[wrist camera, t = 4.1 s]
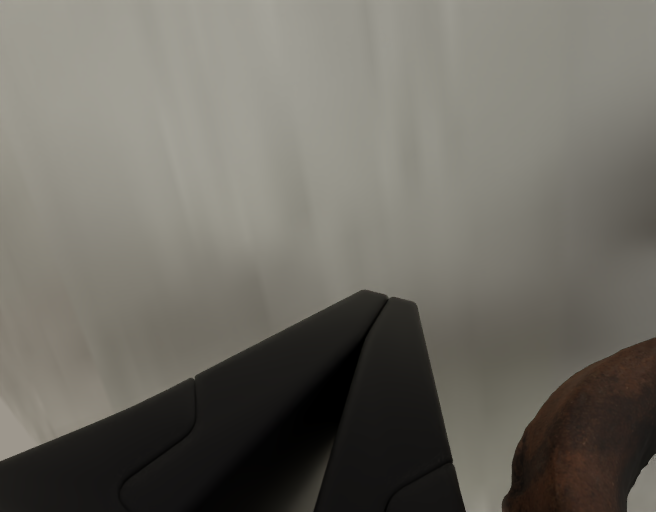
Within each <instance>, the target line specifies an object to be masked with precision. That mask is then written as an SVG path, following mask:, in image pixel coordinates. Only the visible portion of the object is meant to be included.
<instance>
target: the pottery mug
mask: <svg viewBox="0 0 656 512" xmlns="http://www.w3.org/2000/svg"><path fill="white" fill-rule="evenodd" d="M654 454H656V338H653V339H650V340H647V341H644V342H641V343H638V344H635V345H633V346H630V347H628V348H625V349H622V350H620V351H619V352H617V353H615V354H613V355H612V356H609V357H607V358H605V359H602V360H600V361H598V362H595V363H593V364H591V365H590V366H588V367H586V368H584V369H583V370H581V371H579V372H577V373H575V374H574V375H573V376H571V377H570V378H569V379H568V380H567V381H565V382H564V383H563V384H562V385H561V386H560V387H559V388H558V389H557V390H556V391H555V392H553V393H552V394H551V396H550V397H549V398H548V400H547V401H546V402H545V403H544V405H543V406H542V407H541V409H540V410H539V412H538V413H537V415H536V416H535V418H534V419H533V420H532V421H531V422H530V423H529V425H528V426H527V427H526V429H525V431H524V434H523V436H522V438H521V440H520V442H519V443H518V445H517V448H516V450H515V454H514V458H513V461H512V485H511V488H510V490H509V492H508V494H507V495H506V496H505V497H504V499H503V501H502V512H627V496H628V494H629V492H630V489H631V488H632V487H633V485H634V484H635V481H636V479H637V477H638V475H639V474H640V472H641V470H642V469H643V468H644V467H645V466H646V465H647V464H648V462H649V460H650V459H651V458H652V457H653V455H654Z"/></svg>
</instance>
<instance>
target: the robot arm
mask: <svg viewBox="0 0 656 512" xmlns="http://www.w3.org/2000/svg"><path fill="white" fill-rule="evenodd" d="M452 463H453V459H452V455H451V450H450V446H449V442H448V437H447V433H446V429H445V425H444V420H443V416H442V412H441V407H440V403H439V399H438V394H437V390H436V386H435V381H434V377H433V373H432V369H431V364H430V360H429V356H428V351H427V347H426V343H425V338H424V334H423V330H422V325H421V321H420V317H419V312H418V308H417V305H416V303H414V302H412V301H408V300H404V299H400V298H396V297H391V298H389V299H388V297H387V296H386V295H384V294H380V293H377V292H373V291H369V290H361V291H359V292H357V293H355V294H353V295H351V296H349V297H347V298H345V299H343V300H341V301H339V302H337V303H336V304H334V305H332V306H330V307H328V308H326V309H324V310H322V311H320V312H318V313H316V314H314V315H312V316H310V317H308V318H306V319H304V320H302V321H301V322H299V323H297V324H295V325H293V326H291V327H289V328H287V329H285V330H283V331H281V332H279V333H277V334H275V335H273V336H271V337H269V338H267V339H265V340H264V341H262V342H260V343H258V344H256V345H254V346H252V347H250V348H248V349H246V350H244V351H242V352H240V353H238V354H236V355H234V356H232V357H230V358H228V359H227V360H225V361H223V362H221V363H219V364H217V365H215V366H213V367H211V368H209V369H207V370H205V371H203V372H201V373H199V374H197V375H196V376H195V380H194V379H193V378H189V379H187V380H185V381H183V382H181V383H179V384H177V385H176V386H174V387H172V388H170V389H168V390H166V391H164V392H161V393H159V394H157V395H155V396H153V397H151V398H149V399H147V400H145V401H143V402H141V403H139V404H137V405H135V406H133V407H130V408H128V409H126V410H123V411H121V412H119V413H116V414H114V415H112V416H109V417H107V418H105V419H102V420H100V421H98V422H95V423H93V424H91V425H88V426H86V427H83V428H81V429H79V430H76V431H74V432H71V433H69V434H66V435H64V436H61V437H59V438H56V439H54V440H52V441H49V442H47V443H44V444H42V445H39V446H37V447H35V448H32V449H29V450H27V451H25V452H22V453H20V454H17V455H15V456H12V457H10V458H7V459H5V460H3V461H0V512H466V510H465V506H464V503H463V499H462V496H461V492H460V488H459V483H458V479H457V475H456V471H455V467H454V465H453V464H452ZM313 510H314V511H313Z"/></svg>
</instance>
